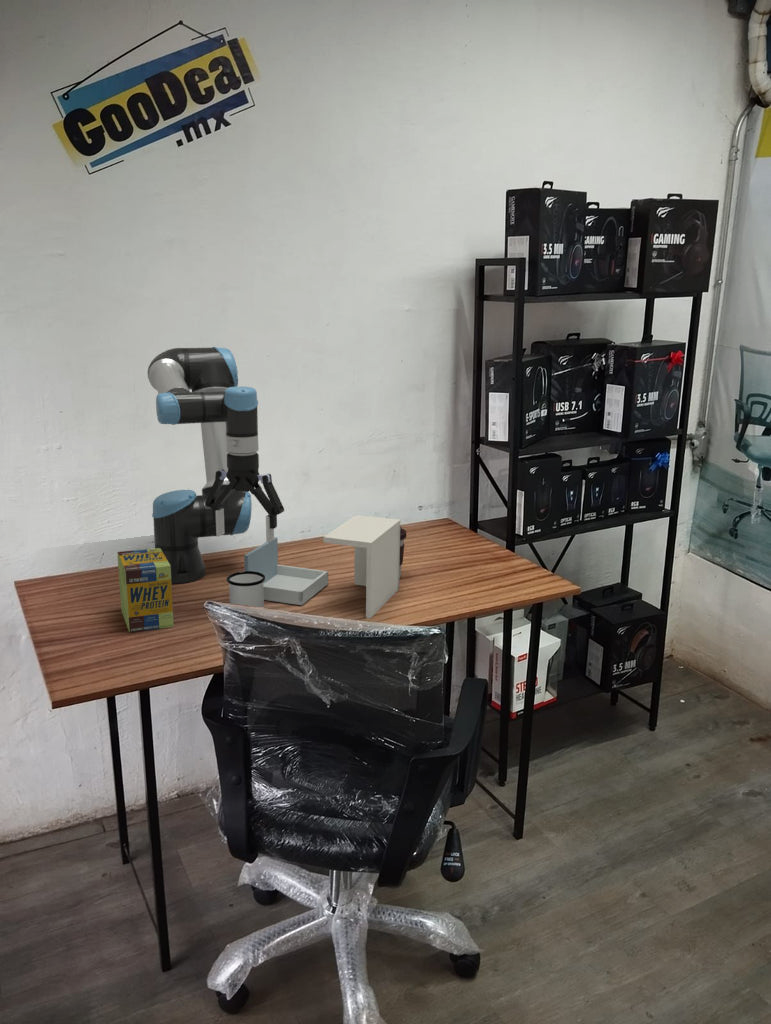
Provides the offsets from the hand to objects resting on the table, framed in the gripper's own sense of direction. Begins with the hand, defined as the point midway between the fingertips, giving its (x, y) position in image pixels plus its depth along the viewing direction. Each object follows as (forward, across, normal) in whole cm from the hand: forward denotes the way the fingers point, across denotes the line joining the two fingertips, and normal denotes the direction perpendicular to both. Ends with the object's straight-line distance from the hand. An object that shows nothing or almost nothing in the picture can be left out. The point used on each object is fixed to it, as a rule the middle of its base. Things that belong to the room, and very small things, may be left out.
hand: (245, 538), depth 207 cm
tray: (+19, +4, +15) cm, 24 cm away
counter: (+19, +25, +16) cm, 35 cm away
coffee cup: (+19, +25, +36) cm, 47 cm away
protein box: (+19, -20, -14) cm, 31 cm away
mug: (+19, 0, 0) cm, 19 cm away
